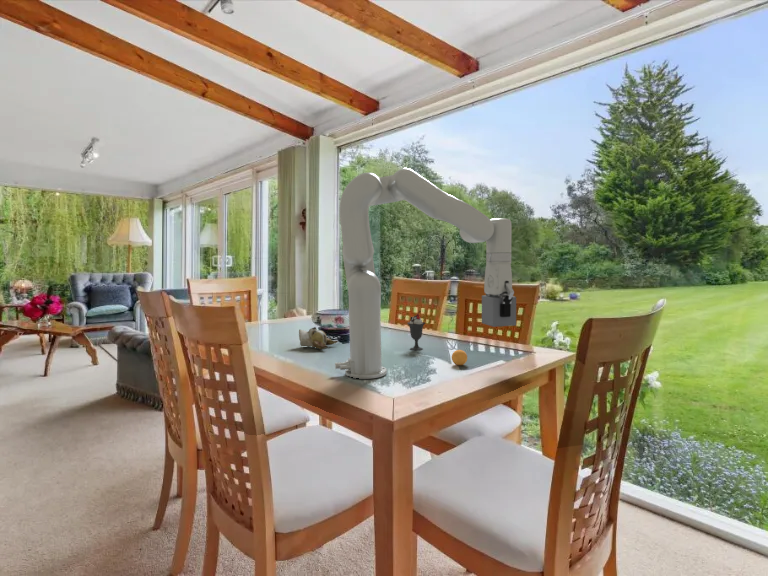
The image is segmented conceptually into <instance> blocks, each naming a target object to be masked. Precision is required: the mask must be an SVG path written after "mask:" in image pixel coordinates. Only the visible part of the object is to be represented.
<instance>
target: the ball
mask: <svg viewBox="0 0 768 576" xmlns="http://www.w3.org/2000/svg"><path fill="white" fill-rule="evenodd" d="M451 360H452V363H453V364H454V365H456V366H463V365H465V364H466V363H467V361H468V355H467V353H466V351H464V350H463V349H457V350H455V351H453V352H452V354H451Z"/></svg>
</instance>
